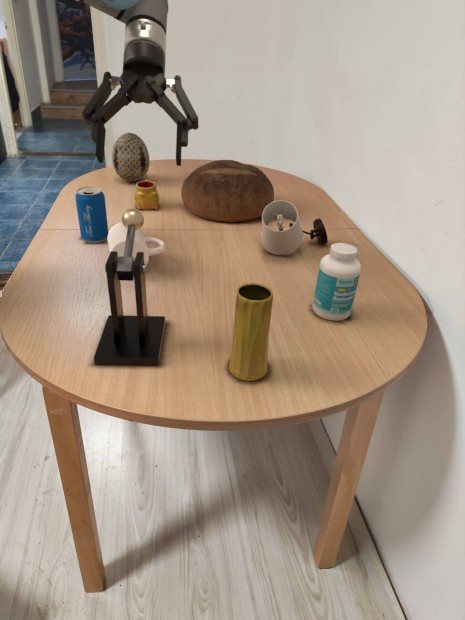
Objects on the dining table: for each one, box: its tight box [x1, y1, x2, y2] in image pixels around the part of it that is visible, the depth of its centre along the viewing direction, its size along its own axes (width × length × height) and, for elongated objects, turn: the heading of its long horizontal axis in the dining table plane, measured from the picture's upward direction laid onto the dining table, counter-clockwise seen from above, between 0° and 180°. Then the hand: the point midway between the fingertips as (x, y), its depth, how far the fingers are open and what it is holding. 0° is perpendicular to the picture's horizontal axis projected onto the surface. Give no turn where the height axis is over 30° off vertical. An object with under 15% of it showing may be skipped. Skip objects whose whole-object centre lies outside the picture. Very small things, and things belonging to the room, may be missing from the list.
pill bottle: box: [311, 242, 362, 322], centre depth 84 cm, size 8×7×14 cm
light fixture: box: [260, 199, 329, 256], centre depth 108 cm, size 10×16×17 cm
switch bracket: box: [93, 251, 166, 366], centre depth 72 cm, size 12×10×16 cm
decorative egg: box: [111, 132, 150, 183], centre depth 145 cm, size 12×12×15 cm
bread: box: [180, 159, 275, 223], centre depth 129 cm, size 26×27×13 cm
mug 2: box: [134, 179, 160, 211], centre depth 130 cm, size 12×7×7 cm, turn 5°
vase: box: [228, 282, 274, 382], centre depth 68 cm, size 6×6×14 cm
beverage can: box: [74, 186, 109, 244], centre depth 107 cm, size 6×6×12 cm
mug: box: [106, 221, 166, 266], centre depth 98 cm, size 12×10×8 cm
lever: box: [116, 208, 145, 282], centre depth 72 cm, size 13×4×4 cm, turn 2°
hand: (139, 160), depth 79 cm, fingers open, 13 cm apart
